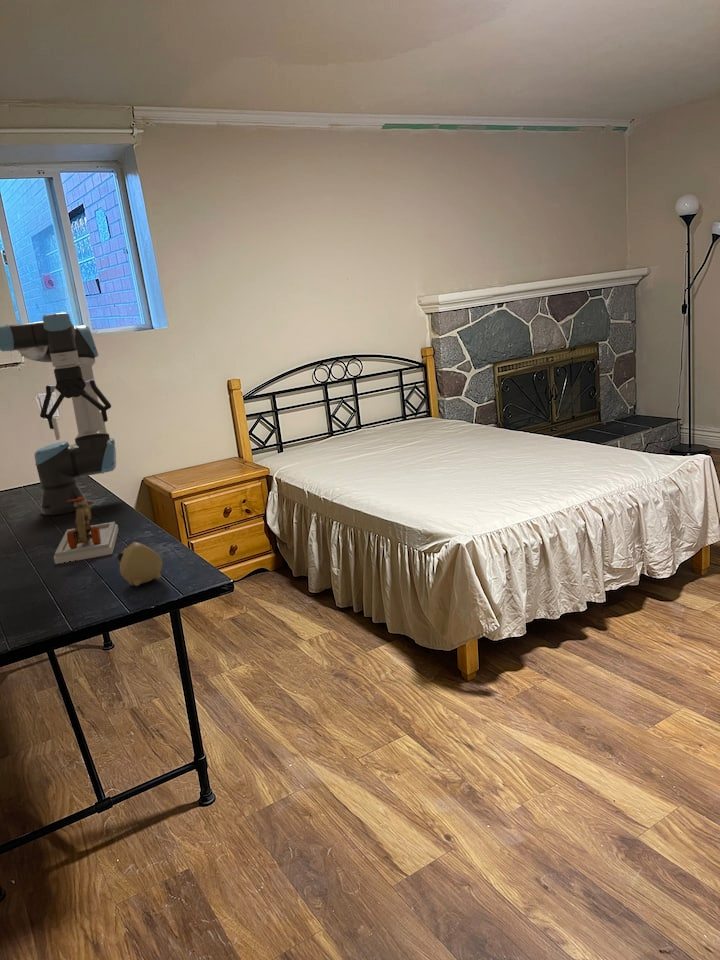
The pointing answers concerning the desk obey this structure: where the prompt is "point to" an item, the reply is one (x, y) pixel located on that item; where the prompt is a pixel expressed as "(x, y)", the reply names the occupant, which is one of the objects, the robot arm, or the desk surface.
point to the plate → (88, 545)
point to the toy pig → (139, 564)
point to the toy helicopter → (82, 524)
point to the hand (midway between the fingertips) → (81, 435)
